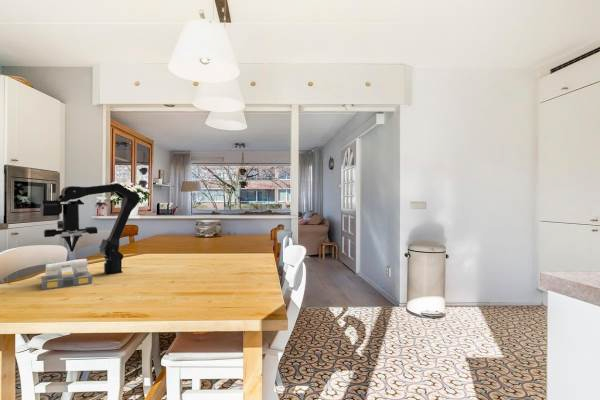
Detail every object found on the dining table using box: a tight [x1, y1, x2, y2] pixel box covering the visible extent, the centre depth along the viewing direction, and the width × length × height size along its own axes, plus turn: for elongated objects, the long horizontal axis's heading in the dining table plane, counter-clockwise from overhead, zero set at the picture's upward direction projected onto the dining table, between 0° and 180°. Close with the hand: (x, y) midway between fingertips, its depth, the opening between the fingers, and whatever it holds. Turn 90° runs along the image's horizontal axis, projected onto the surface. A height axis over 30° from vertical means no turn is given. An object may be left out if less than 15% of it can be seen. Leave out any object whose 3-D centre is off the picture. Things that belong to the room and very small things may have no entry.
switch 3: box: [75, 267, 89, 272], centre depth 139 cm, size 4×9×1 cm, turn 39°
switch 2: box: [60, 265, 73, 278], centre depth 136 cm, size 4×9×1 cm, turn 39°
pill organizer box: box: [40, 270, 93, 291], centre depth 136 cm, size 16×12×3 cm
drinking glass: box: [45, 258, 89, 276], centre depth 151 cm, size 7×7×15 cm
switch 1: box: [44, 270, 58, 276], centre depth 133 cm, size 4×9×1 cm, turn 39°
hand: (71, 251), depth 145 cm, fingers closed
